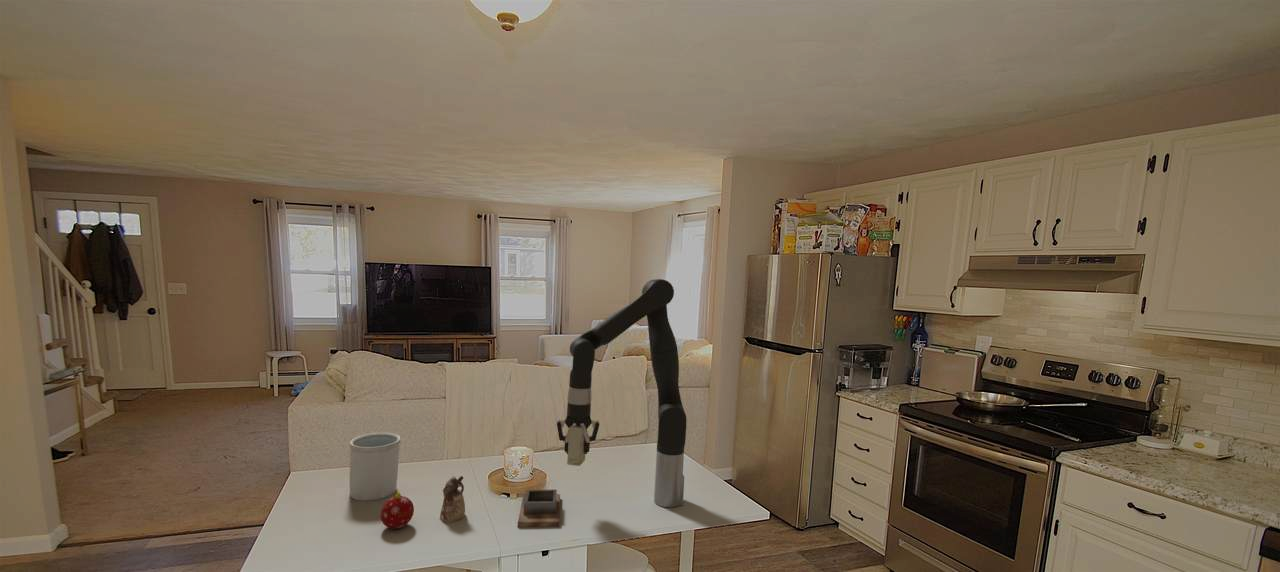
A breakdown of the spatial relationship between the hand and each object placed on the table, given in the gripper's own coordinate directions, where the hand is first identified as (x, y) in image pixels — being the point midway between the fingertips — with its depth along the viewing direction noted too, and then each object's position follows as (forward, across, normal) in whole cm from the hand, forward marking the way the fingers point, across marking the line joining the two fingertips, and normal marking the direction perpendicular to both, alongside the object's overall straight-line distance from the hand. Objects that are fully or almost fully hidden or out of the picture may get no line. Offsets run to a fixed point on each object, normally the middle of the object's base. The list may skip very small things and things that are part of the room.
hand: (576, 453), depth 162 cm
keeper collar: (+16, +11, +3) cm, 19 cm away
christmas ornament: (+18, +50, +11) cm, 55 cm away
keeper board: (+18, +10, +3) cm, 21 cm away
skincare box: (+3, 0, 0) cm, 3 cm away
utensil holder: (+18, +66, -13) cm, 69 cm away
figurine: (+18, +36, +5) cm, 41 cm away
